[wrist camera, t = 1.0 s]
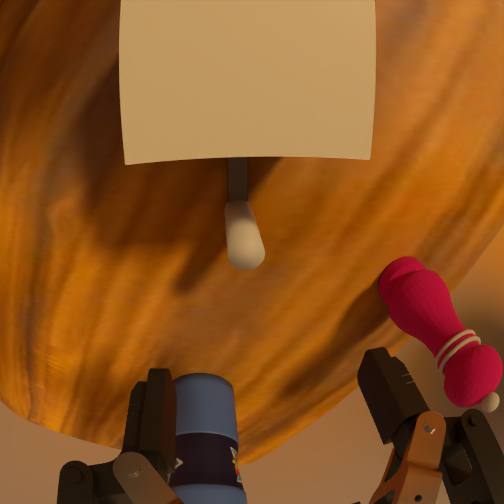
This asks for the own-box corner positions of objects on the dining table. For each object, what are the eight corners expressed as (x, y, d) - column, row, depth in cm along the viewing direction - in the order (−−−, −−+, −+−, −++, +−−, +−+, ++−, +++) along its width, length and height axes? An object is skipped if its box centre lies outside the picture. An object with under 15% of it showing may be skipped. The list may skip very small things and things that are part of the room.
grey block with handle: (198, 23, 18) (191, -9, 11) (274, 23, 19) (300, -6, 12) (204, 223, 27) (201, 272, 20) (271, 220, 28) (290, 267, 21)
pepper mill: (371, 308, 35) (448, 446, 17) (376, 258, 31) (482, 405, 14) (418, 294, 35) (503, 412, 17) (427, 246, 31) (537, 366, 14)
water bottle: (168, 405, 40) (166, 559, 19) (168, 369, 36) (162, 559, 14) (229, 409, 42) (246, 560, 20) (239, 374, 38) (264, 559, 16)
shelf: (162, 1, 17) (127, -56, 7) (309, 2, 18) (370, -46, 8) (163, 135, 23) (125, 165, 13) (308, 131, 24) (369, 159, 14)
